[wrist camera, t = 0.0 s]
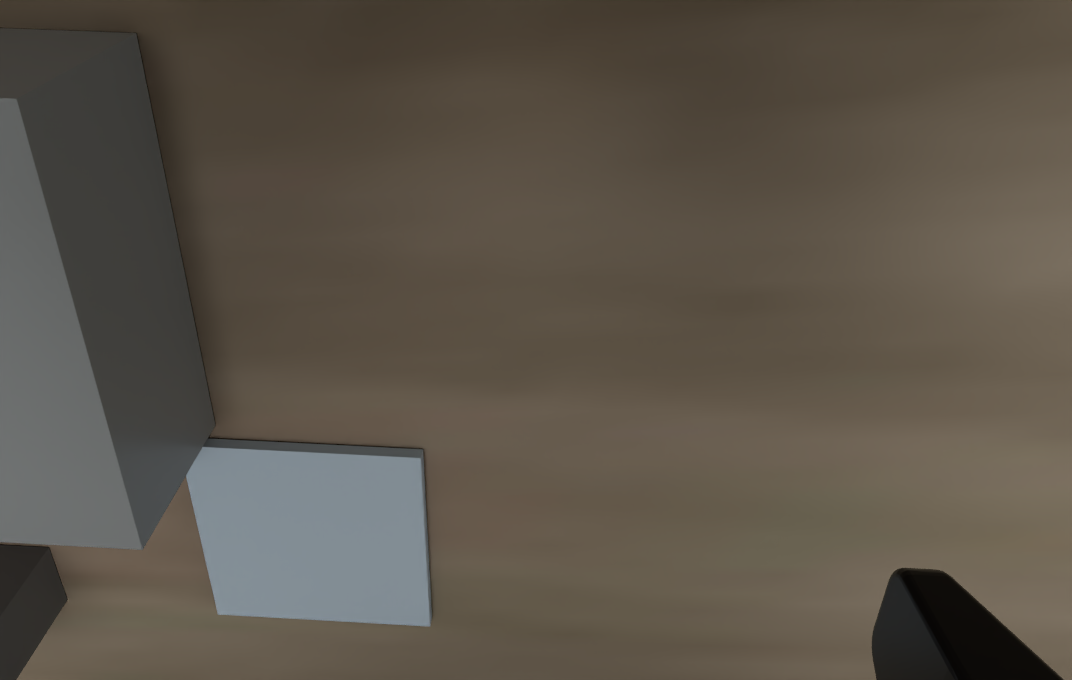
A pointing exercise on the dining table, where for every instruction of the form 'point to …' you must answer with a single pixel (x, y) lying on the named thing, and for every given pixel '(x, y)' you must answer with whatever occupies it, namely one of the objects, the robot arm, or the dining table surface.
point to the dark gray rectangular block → (26, 604)
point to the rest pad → (314, 530)
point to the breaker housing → (89, 299)
